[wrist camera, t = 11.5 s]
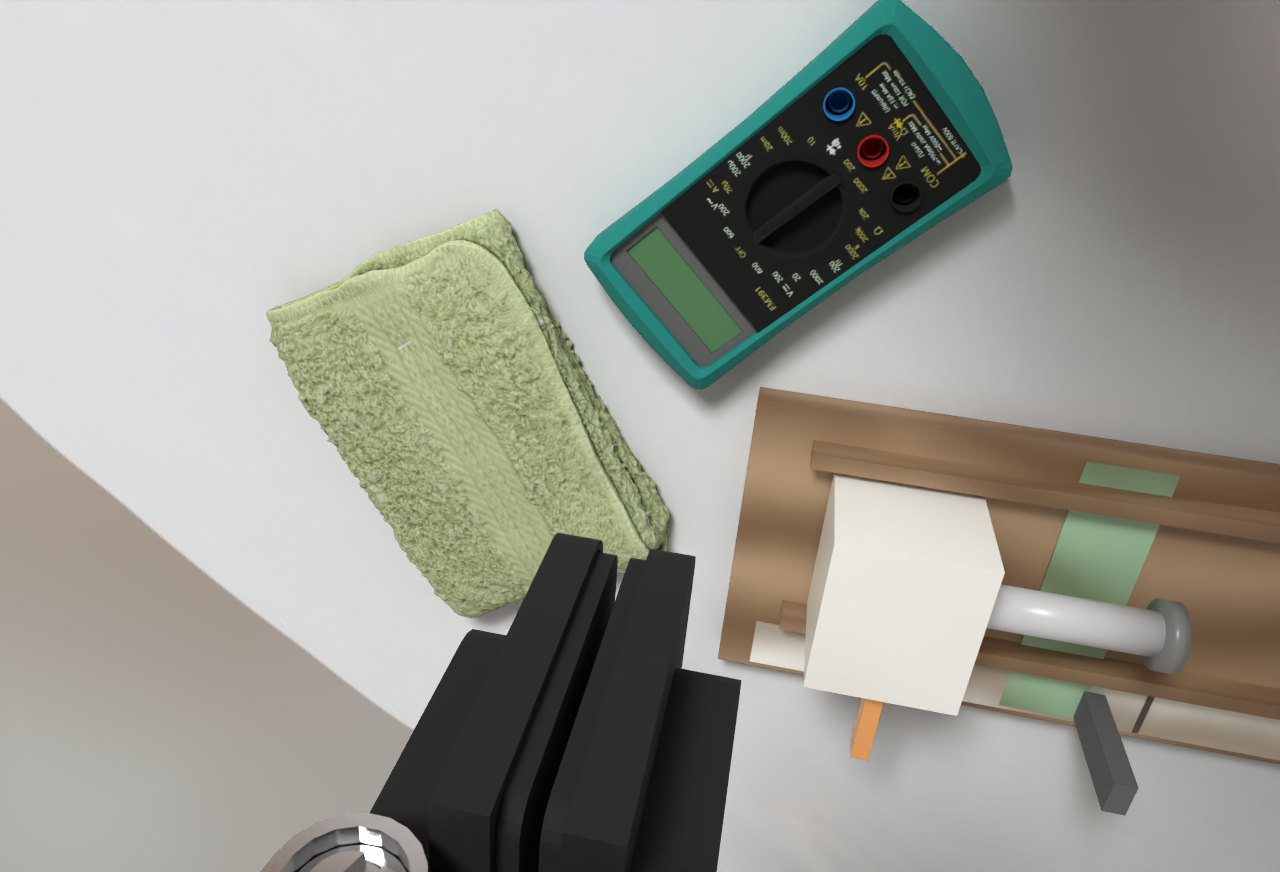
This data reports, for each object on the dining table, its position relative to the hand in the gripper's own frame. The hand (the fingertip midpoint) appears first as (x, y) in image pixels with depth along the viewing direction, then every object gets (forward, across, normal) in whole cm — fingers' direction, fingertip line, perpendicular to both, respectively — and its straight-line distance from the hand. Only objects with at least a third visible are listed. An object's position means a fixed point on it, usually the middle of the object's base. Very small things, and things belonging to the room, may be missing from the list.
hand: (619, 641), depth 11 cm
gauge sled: (+26, -11, +17) cm, 33 cm away
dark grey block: (+26, -18, +22) cm, 38 cm away
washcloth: (+28, +11, +13) cm, 33 cm away
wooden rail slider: (+27, -16, +16) cm, 35 cm away
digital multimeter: (+28, -1, +1) cm, 28 cm away
